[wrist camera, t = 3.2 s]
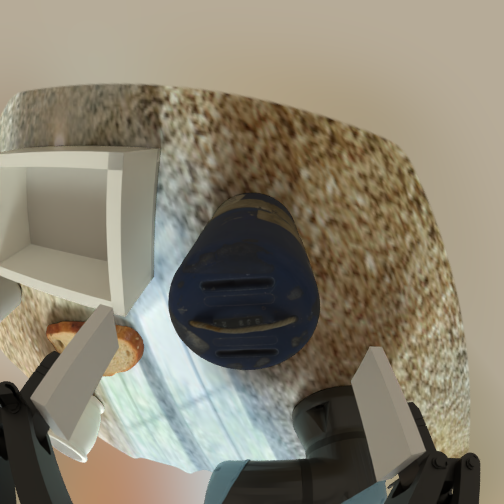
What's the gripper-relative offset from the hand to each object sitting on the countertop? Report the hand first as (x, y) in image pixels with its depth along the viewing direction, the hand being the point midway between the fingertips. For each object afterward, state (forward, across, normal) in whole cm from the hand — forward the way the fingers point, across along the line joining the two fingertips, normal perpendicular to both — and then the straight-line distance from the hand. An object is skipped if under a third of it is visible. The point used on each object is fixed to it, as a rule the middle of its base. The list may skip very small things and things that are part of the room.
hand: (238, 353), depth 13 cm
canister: (+20, 0, 0) cm, 20 cm away
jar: (+20, +30, +44) cm, 57 cm away
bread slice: (+20, +24, +24) cm, 39 cm away
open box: (+20, +23, 0) cm, 30 cm away
